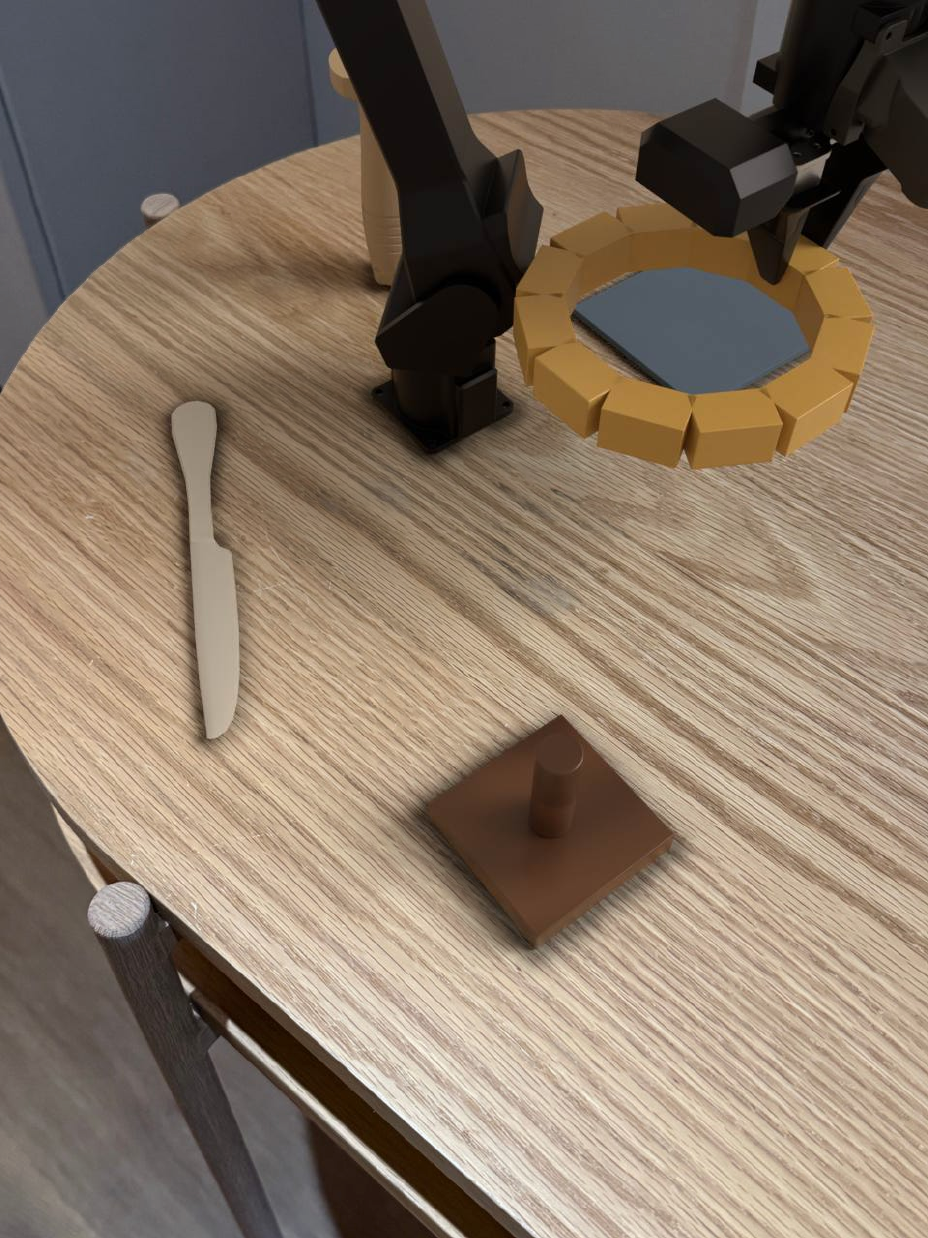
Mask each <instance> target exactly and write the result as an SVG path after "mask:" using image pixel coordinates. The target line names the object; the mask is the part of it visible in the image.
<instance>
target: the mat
mask: <svg viewBox="0 0 928 1238" xmlns="http://www.w3.org/2000/svg"><path fill="white" fill-rule="evenodd" d="M571 315H574V316H575V317H576V318H577V319H578V320H579V321H581V322H582V323H583V324H584V325H585V326H587V327H589V328H590V329H591V330H592V331H593V332H595V333H596V334H597V335H598V336H600V337H601V338H602V339H603V340H605V341H606V342H607V343H608V344H610V345H611V346H612V347H613V348H614V349H616V350H617V351H619V353H621V354H622V355H623V356H625V357H626V358H627V359H628V360H630V362H632V363H633V364H634V365H636V366H637V367H638V368H639V369H641V370H642V371H644V373H646V374H647V375H648V376H650V377H651V378H652V379H653V380H655V381H656V382H657V383H658V384H660V386H661V387H665V388H668V389H672V390H676V391H680V392H683V393H687V394H691V395H696V394H706V393H716V392H727V391H737V390H744V389H746V388H747V387H748V386H750V385H752V384H753V383H755V382H757V381H759V380H760V379H762V378H764V377H765V376H767V375H769V374H771V373H772V372H774V371H776V370H778V369H779V368H781V367H783V366H784V365H786V364H788V363H790V362H791V361H793V360H795V359H797V358H798V357H800V356H802V355H804V354H805V353H807V352H809V351H811V350H810V348H809V346H808V344H807V342H806V340H805V338H804V336H803V334H802V331H801V329H800V327H799V325H798V323H797V321H796V319H795V317H794V315H793V313H792V312H790V311H789V310H787V309H786V308H784V307H783V306H781V305H780V304H778V303H777V302H776V301H774V300H773V299H771V298H770V297H768V296H767V295H765V294H764V293H762V292H761V291H759V290H758V289H756V288H755V287H754V286H752V285H751V284H749V283H748V282H746V281H743V280H739V279H735V278H731V277H727V276H722V275H718V274H714V273H710V272H706V271H702V270H697V269H693V268H689V267H681V268H670V269H659V270H648V271H639V272H638V273H636V274H634V275H631V276H630V277H628V278H626V279H624V280H622V281H620V282H618V283H617V284H615V285H612V286H611V287H608V288H607V289H604V290H602V291H600V292H598V293H597V294H594V295H592V296H591V297H588V298H587V299H585V300H583V301H581V302H578V303H577V305H576V307H575V309H574V311H573V312H572V314H571Z"/></svg>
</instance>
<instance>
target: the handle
mask: <svg viewBox="0 0 928 1238" xmlns="http://www.w3.org/2000/svg"><path fill="white" fill-rule="evenodd" d="M328 66H329V67H328V68H329V76H330V82H331V86H332V88H333V89H334V90H335V92H336V93H337V94H339V95H340V96H341V97H342V98H345V99H347V100H349V101H352V102H356V103H357V106H358V112H359V131H360V132H359V133H360V201H361V203H360V204H361V214H362V215H361V216H362V217H361V218H362V224H363V231H364V238H365V242H366V247H367V251H368V254H369V257H370V263H371V267H372V271H373V276H374V280H375V281H376V283H377V284H379V285H380V286H388V287H389V286H390V287H391V285H392V282H393V279H394V275H395V272H396V269H397V266H398V262H399V259H400V256H401V252H402V239H401V227H400V216H399V204H398V195H397V190H396V186H395V183H394V180H393V178H392V176H391V174H390V171H389V169H388V167H387V164H386V162H385V160H384V157H383V155H382V153H381V150H380V148H379V146H378V144H377V141H376V139H375V137H374V134H373V132H372V130H371V127H370V125H369V123H368V120H367V118H366V116H365V114H364V111H363V109H362V107H361V104H360V102H359V100H358V97H357V95H356V93H355V90H354V88H353V86H352V84H351V81H350V79H349V77H348V74H347V72H346V70H345V67H344V65H343V63H342V61H341V58H340V56H339V54H338V51H337V49H336V47H334V49H332V51H330V53H329V56H328Z"/></svg>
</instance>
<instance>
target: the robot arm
mask: <svg viewBox="0 0 928 1238" xmlns="http://www.w3.org/2000/svg"><path fill="white" fill-rule="evenodd" d="M315 3H316V5H317V8H318V9H319V10H318V11H319V12H320V15H321V17H322V19H323V21H324V24H325V26H326V28H327V30H328V33H329V35H330V37H331V40H332V42H333V44H334V48H336V49H337V51H338V54H339V56H340V58H341V61H342V63H343V65H344V67H345V70H346V72H347V74H348V77H349V79H350V81H351V84H352V86H353V88H354V90H355V93H356V95H357V97H358V100H359V102H360V104H361V107H362V109H363V111H364V114H365V116H366V118H367V120H368V123H369V125H370V127H371V130H372V132H373V134H374V137H375V139H376V141H377V144H378V146H379V148H380V150H381V153H382V155H383V157H384V160H385V162H386V164H387V167H388V169H389V171H390V174H391V176H392V178H393V180H394V183H395V186H396V190H397V195H398V204H399V216H400V227H401V239H402V252H401V256H400V259H399V262H398V266H397V269H396V272H395V275H394V279H393V282H392V285H391V286H390V289H389V292H388V295H387V299H386V301H385V305H384V308H383V312H382V314H381V318H380V321H379V324H378V328H377V330H376V333H375V338H374V345H375V346H376V348H377V350H378V352H379V355H380V356H381V359H382V360H383V363H384V365H385V366H386V368H387V369H390V378H391V379H389V380H386V381H384V382H383V383H380V384H379V385H376V386H374V387H373V388H372V389H371V390H370V395H371V396H370V397H371V400H372V401H373V403H375V404H376V405H377V406H378V407H379V408H380V409H381V410H382V411H383V412H384V413H385V414H386V415H387V416H388V417H389V418H390V419H391V420H392V421H393V422H394V423H395V424H396V425H397V426H398V427H400V429H401V430H402V431H404V433H405V434H406V435H407V436H408V437H409V438H411V439H412V441H414V443H415V444H416V445H418V446H419V447H420V449H421V450H423V452H425V453H426V454H428V455H436V454H438V453H440V452H442V451H444V450H446V449H448V448H450V447H452V446H454V445H455V444H457V443H459V442H461V441H463V440H465V439H466V438H468V437H471V436H472V435H474V434H476V433H478V432H480V431H482V430H483V429H485V428H487V427H489V426H491V425H493V424H495V423H497V422H498V421H500V420H502V419H504V418H506V417H508V416H509V415H511V414H513V413H514V410H515V409H514V408H515V407H514V406H515V405H514V404H515V403H514V402H513V400H512V399H510V398H509V397H508V396H507V395H506V394H505V393H503V392H502V391H501V390H500V389H499V388H498V369H497V367H496V350H497V340H496V338H498V337H501V336H502V335H504V334H505V333H506V332H508V331H509V330H511V329H513V323H514V298H515V297H516V288H517V286H518V284H519V283H520V281H521V279H522V278H523V276H524V274H525V273H526V271H527V269H528V268H529V266H530V264H531V263H532V261H533V259H534V257H535V256H536V254H537V246H538V241H539V237H540V231H541V225H542V220H543V216H544V210H545V208H544V206H543V205H542V203H540V201H539V200H538V199H537V198H536V197H535V195H534V193H533V191H532V189H531V187H530V185H529V181H528V177H527V169H526V162H525V156H524V153H523V151H522V150H521V149H520V148H517V149H514V150H512V151H509V152H507V153H504V154H503V155H501V156H498V157H497V156H496V154H494V153H493V152H492V151H491V149H489V148H488V147H487V146H486V145H485V144H483V142H482V141H481V140H480V139H479V138H478V137H477V136H476V133H475V132H474V130H473V128H472V125H471V123H470V120H469V117H468V114H467V112H466V109H465V107H464V103H463V101H462V97H461V96H460V92H459V90H458V87H457V84H456V82H455V79H454V75H453V73H452V70H451V68H450V65H449V62H448V60H447V57H446V54H445V51H444V49H443V46H442V42H441V40H440V38H439V34H438V31H437V30H436V26H435V23H434V20H433V19H432V15H431V13H430V10H429V7H428V4H427V2H426V0H315ZM781 38H782V39H781V42H780V46H779V51H777V52H774V53H772V54H770V55H767V56H765V57H762V58H760V59H757V60H756V62H755V63H756V65H755V68H754V73H753V76H752V77H753V78H752V83H753V84H755V85H756V86H757V87H759V88H760V89H762V90H764V91H766V92H768V93H769V94H771V95H772V96H773V97H772V101H771V103H772V104H771V105H770V106H767V107H765V108H763V109H761V110H758V111H756V112H753V113H752V114H749V115H747V116H746V115H744V114H742V113H741V112H739V111H737V110H736V109H734V108H733V107H731V106H730V105H728V104H726V103H725V102H723V101H722V100H720V99H718V97H714V98H712V99H709V100H707V101H704V102H702V103H700V104H697V105H695V106H693V107H690V108H688V109H685V110H683V111H680V112H678V113H676V114H673V115H671V116H669V117H667V118H664V119H662V120H659V121H657V122H656V123H654V124H653V125H651V126H649V127H648V128H646V129H644V130H643V131H642V132H641V131H640V132H641V133H640V138H639V139H640V140H639V148H638V154H637V155H638V156H637V163H636V171H635V179H634V180H635V182H636V183H638V184H639V185H641V186H642V187H643V188H645V189H647V190H648V191H649V192H651V193H652V194H653V195H655V196H656V197H657V198H659V199H660V200H662V201H663V202H665V203H668V204H669V205H670V206H672V207H673V208H675V209H676V210H677V211H679V212H680V213H682V214H683V215H684V216H686V217H687V218H689V219H690V220H691V221H693V222H694V223H696V224H697V225H698V226H700V227H701V228H703V229H704V230H705V231H707V232H708V233H710V234H711V235H713V236H717V237H728V238H733V237H735V236H737V235H739V234H741V233H743V232H745V231H747V233H748V237H749V240H750V244H751V247H752V251H753V254H754V258H755V261H756V265H757V268H758V272H759V275H760V276H761V278H763V279H764V280H765V281H767V282H768V283H769V284H771V285H776V284H778V283H780V281H781V279H782V277H783V275H784V273H785V271H786V269H787V267H788V264H789V262H790V260H791V257H792V254H793V252H794V249H795V246H796V244H797V241H798V239H799V236H800V234H802V235H803V236H805V237H806V238H808V239H809V240H811V241H812V242H814V243H816V244H817V245H819V246H820V247H822V248H824V249H825V250H827V251H828V249H829V247H830V246H831V245H832V243H833V242H834V240H835V238H836V237H837V236H838V234H839V233H840V231H841V230H842V228H843V227H844V226H845V224H846V223H847V221H848V220H849V218H850V217H851V215H852V214H853V213H854V211H855V209H856V208H857V207H858V206H859V204H860V202H861V201H862V200H863V199H864V197H865V196H866V194H867V193H868V192H869V190H870V189H871V188H872V186H873V185H874V183H876V181H877V180H878V178H879V177H880V176H881V175H882V174H883V173H884V172H885V171H887V170H888V171H889V172H890V173H891V174H892V175H893V177H894V179H896V180H897V182H898V183H899V184H900V191H901V193H902V194H903V195H904V196H905V198H906V199H907V200H908V201H909V202H910V203H911V204H912V205H914V206H916V207H918V208H920V209H924V210H928V0H790V3H789V7H788V11H787V15H786V21H785V25H784V30H783V33H782V37H781Z"/></svg>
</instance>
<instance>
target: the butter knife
mask: <svg viewBox="0 0 928 1238" xmlns="http://www.w3.org/2000/svg"><path fill="white" fill-rule="evenodd" d="M217 431H218V424H217V414H216V409H215V407H213V406H212V405H211V403H208V402H204V401H200V400H192V401H187V402H185V403H182V404H180V405H178V406H177V407H176V408H175V409H174V410H173V412H172V413H171V435H172V439H173V442H174V447H175V450H176V453H177V457H178V460H179V465H180V467H181V470H182V471H181V472H182V474H183V477H184V481H185V489H186V497H187V505H188V506H187V508H188V529H189V530H188V532H189V533H188V534H189V535H188V536H189V550H190V551H189V552H190V568H191V570H190V571H191V585H192V604H193V618H194V619H193V620H194V621H193V622H194V637H195V646H196V657H197V667H198V668H197V669H198V679H199V688H200V695H201V702H202V704H201V705H202V711H203V720H204V728H205V733H206V734H205V735H206V739H207V740H209V739H210V740H211V739H217V738H218V737H220V736H222V735H223V734H224V733H226V732H227V731H228V729H229V727H230V726H231V724H232V722H233V720H234V716H235V711H236V707H237V704H238V698H239V697H238V696H239V684H240V671H241V670H240V629H239V615H238V604H237V590H236V582H235V572H234V563H233V562H234V561H233V553H232V552H231V550H229V549H227V548H225V547H222V546H220V545H219V544H218V542H217V541H216V539H215V538H214V526H213V524H214V523H213V514H212V503H211V502H212V499H211V498H212V497H211V496H212V495H211V475H212V467H213V463H214V462H213V461H214V453H215V447H216V440H217V439H216V438H217Z"/></svg>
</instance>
